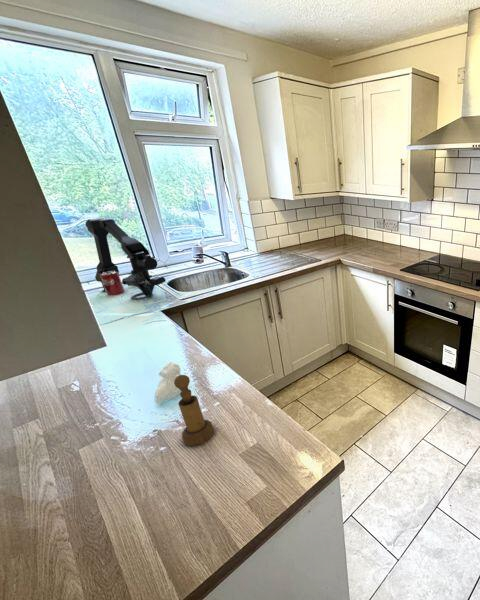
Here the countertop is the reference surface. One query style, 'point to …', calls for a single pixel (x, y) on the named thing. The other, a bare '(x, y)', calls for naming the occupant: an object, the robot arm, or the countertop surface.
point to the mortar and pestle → (192, 415)
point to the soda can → (112, 283)
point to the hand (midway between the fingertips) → (148, 296)
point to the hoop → (140, 297)
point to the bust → (167, 383)
